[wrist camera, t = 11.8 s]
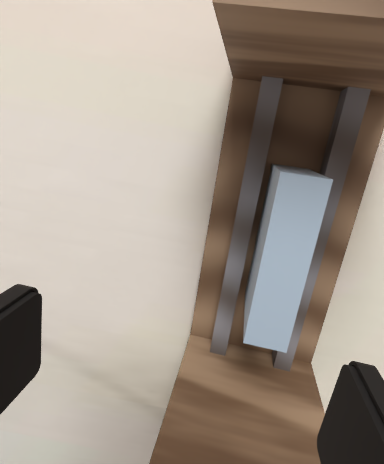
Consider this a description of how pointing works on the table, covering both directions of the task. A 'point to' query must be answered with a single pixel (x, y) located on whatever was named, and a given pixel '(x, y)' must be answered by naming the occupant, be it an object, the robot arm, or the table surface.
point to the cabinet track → (249, 214)
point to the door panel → (283, 254)
